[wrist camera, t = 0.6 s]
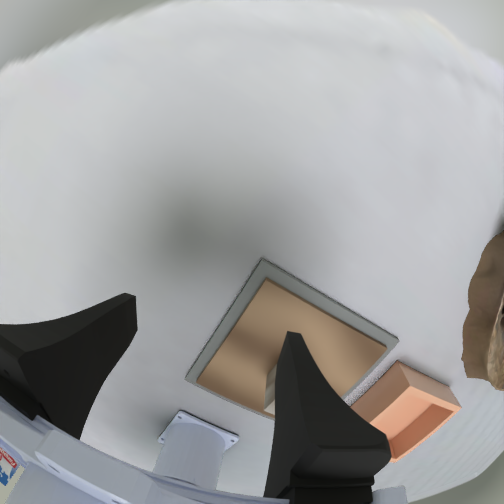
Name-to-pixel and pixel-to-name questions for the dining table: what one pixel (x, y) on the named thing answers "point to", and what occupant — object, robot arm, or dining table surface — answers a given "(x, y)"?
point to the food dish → (486, 317)
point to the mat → (304, 292)
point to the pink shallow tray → (406, 407)
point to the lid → (270, 345)
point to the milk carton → (7, 466)
